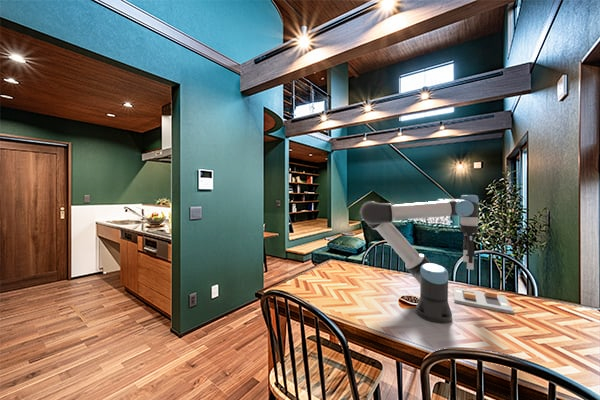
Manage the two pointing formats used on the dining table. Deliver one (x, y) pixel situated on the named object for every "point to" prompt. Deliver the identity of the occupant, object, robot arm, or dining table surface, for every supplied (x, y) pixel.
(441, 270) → the robot arm
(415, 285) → the dining table surface
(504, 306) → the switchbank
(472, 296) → the tab
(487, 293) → the tab
